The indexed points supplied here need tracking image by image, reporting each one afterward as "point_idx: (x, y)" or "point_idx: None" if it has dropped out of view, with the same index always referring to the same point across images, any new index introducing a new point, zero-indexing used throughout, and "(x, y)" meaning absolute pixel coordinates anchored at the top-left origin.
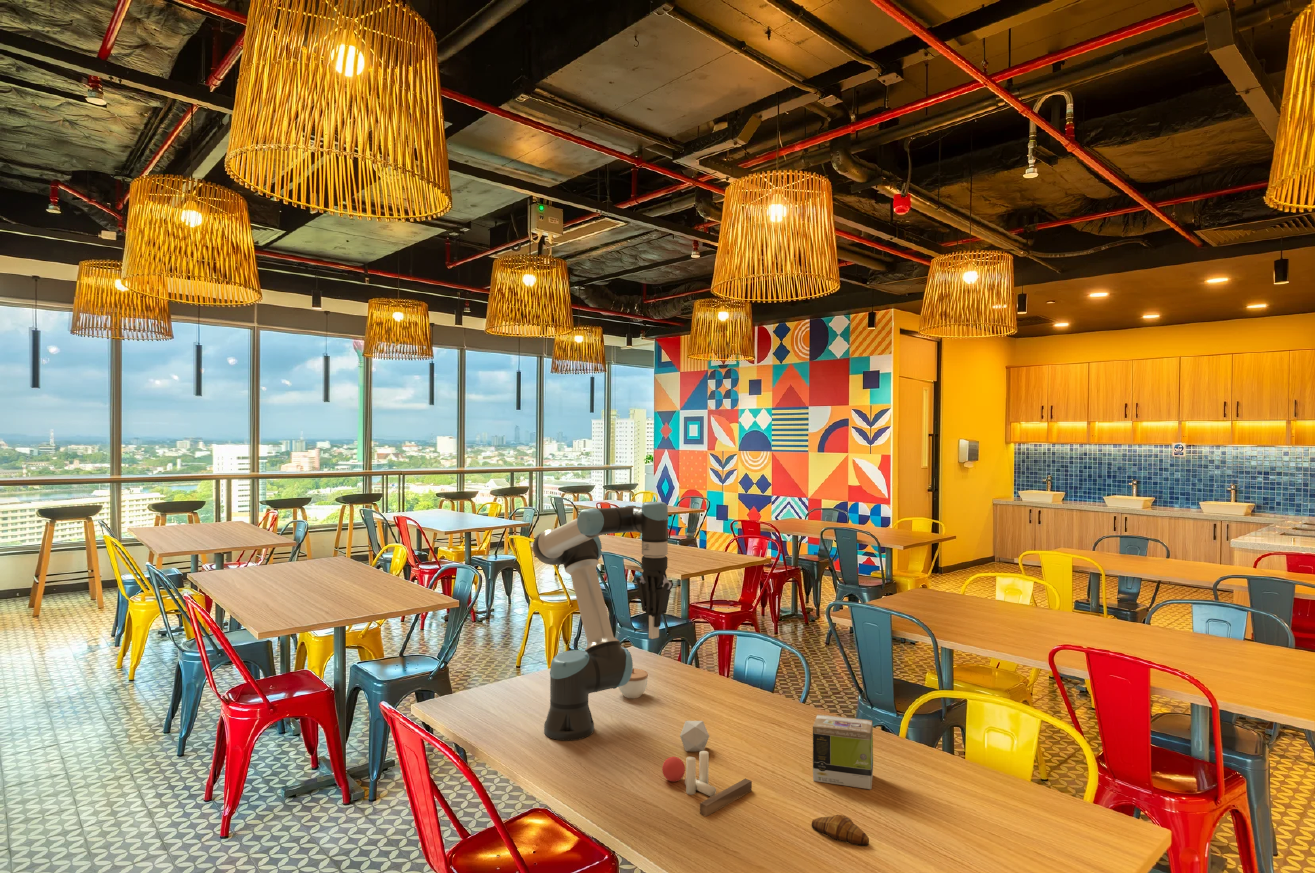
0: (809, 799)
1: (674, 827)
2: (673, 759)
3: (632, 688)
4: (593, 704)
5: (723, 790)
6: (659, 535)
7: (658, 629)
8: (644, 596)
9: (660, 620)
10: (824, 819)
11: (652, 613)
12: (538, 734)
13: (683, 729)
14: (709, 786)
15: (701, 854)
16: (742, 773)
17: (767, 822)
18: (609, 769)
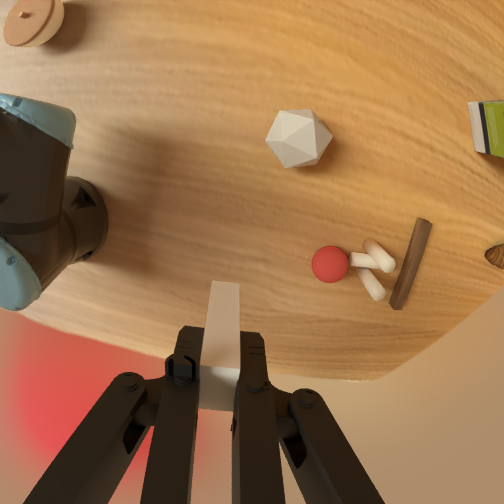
0: (478, 200)
1: (374, 338)
2: (336, 276)
3: (49, 34)
4: None
5: (409, 268)
6: None
7: (238, 309)
8: (107, 489)
9: (265, 358)
10: (499, 260)
11: (199, 393)
12: None
13: (285, 157)
14: None
15: (408, 351)
16: (400, 177)
17: (451, 273)
18: None
